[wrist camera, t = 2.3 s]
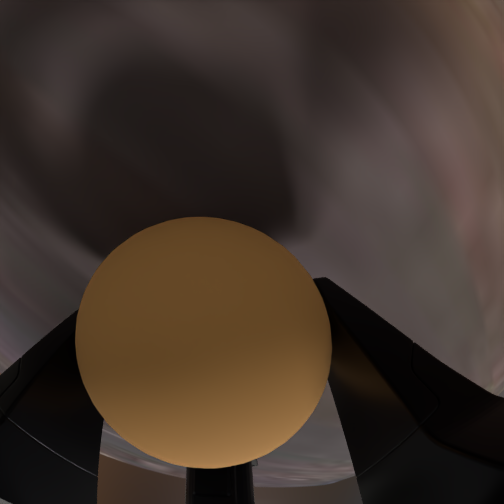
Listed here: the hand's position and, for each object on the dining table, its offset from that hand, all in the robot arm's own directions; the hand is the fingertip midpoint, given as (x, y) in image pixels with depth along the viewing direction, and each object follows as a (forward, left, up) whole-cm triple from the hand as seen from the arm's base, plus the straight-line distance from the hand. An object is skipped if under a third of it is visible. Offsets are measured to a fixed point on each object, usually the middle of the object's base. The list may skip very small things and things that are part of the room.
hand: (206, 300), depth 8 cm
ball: (0, 0, +2) cm, 2 cm away
